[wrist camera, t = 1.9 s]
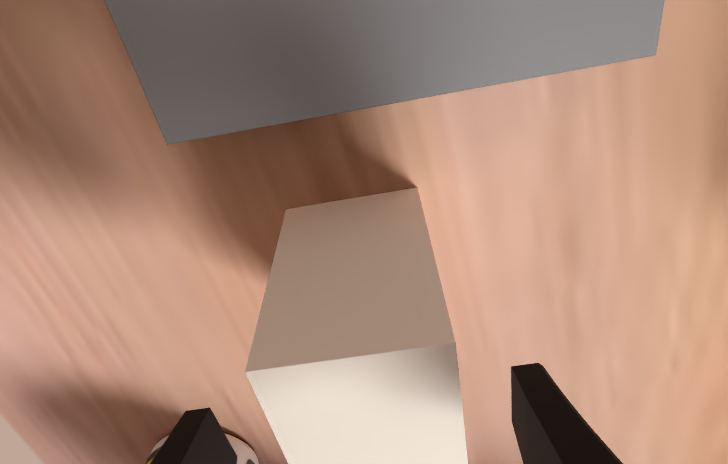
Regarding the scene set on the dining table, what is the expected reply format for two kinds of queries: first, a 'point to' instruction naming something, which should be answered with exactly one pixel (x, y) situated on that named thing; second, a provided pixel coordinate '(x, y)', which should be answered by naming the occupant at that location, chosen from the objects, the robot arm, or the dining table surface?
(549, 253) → the dining table surface
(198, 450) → the robot arm
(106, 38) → the dining table surface
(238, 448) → the supplement bottle
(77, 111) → the dining table surface
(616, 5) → the base block
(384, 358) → the ivory block
